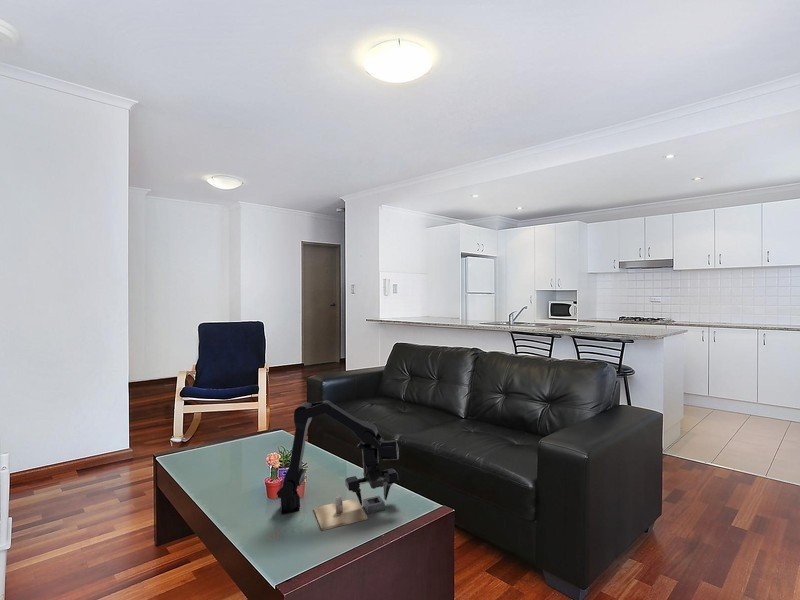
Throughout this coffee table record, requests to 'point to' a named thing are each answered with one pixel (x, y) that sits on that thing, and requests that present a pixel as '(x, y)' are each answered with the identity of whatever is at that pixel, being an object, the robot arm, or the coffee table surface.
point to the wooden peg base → (339, 513)
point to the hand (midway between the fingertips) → (373, 502)
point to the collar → (373, 504)
